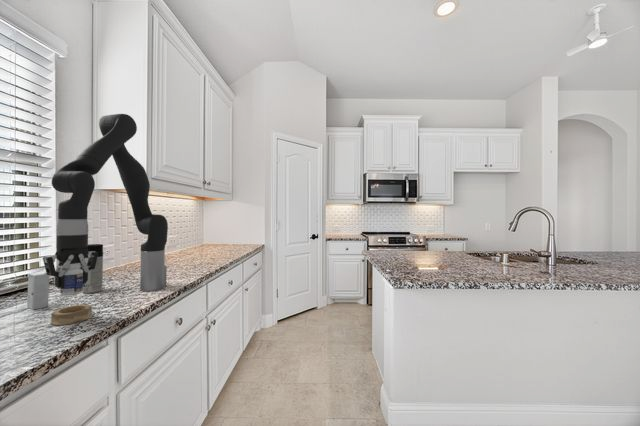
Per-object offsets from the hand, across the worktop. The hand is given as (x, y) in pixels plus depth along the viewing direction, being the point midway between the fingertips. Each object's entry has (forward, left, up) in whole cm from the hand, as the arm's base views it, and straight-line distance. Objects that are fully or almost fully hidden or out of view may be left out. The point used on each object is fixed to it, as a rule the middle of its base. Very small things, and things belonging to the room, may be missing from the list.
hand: (71, 285), depth 88 cm
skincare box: (-2, -24, -11) cm, 26 cm away
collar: (0, 0, -11) cm, 11 cm away
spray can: (-21, -27, -11) cm, 36 cm away
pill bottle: (0, 0, -3) cm, 3 cm away
